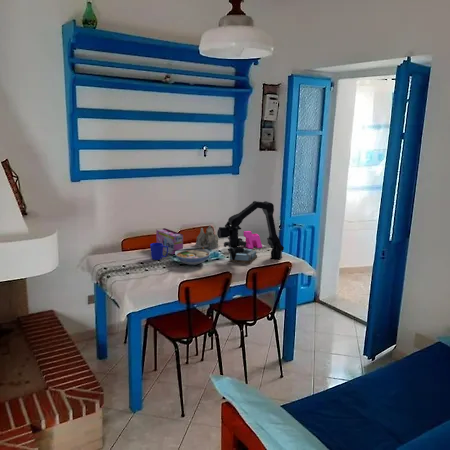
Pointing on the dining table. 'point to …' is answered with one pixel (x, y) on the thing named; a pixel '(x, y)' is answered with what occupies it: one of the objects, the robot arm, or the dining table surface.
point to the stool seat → (247, 251)
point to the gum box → (169, 240)
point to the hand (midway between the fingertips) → (233, 260)
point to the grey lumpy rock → (207, 239)
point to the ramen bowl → (192, 255)
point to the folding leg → (242, 257)
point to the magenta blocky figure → (252, 240)
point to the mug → (157, 251)
